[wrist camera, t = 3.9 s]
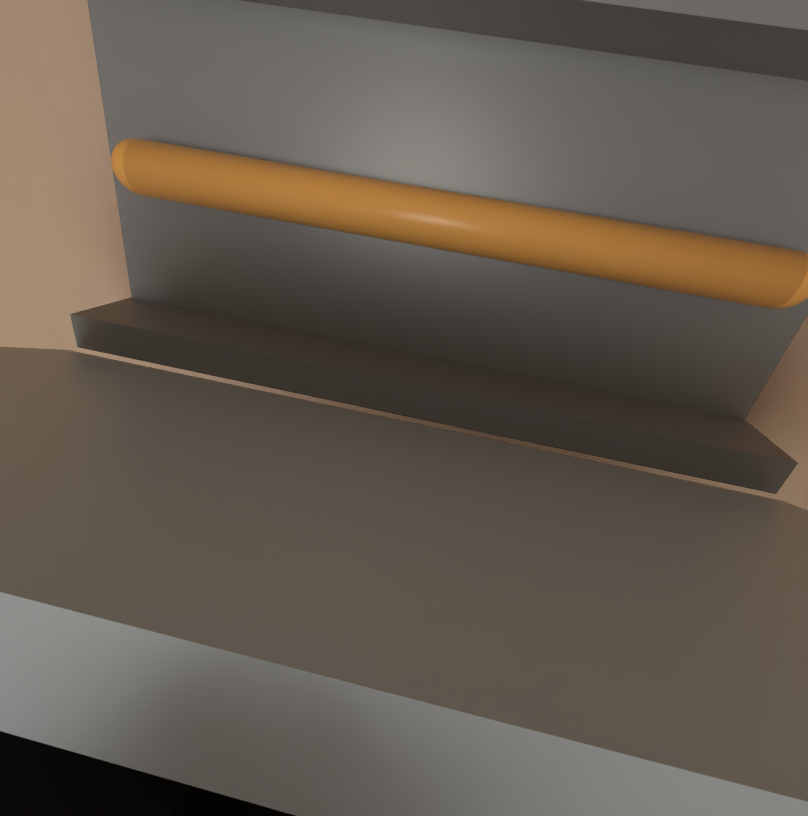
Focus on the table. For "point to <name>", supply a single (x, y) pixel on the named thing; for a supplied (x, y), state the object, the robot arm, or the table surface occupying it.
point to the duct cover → (386, 608)
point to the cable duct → (470, 211)
